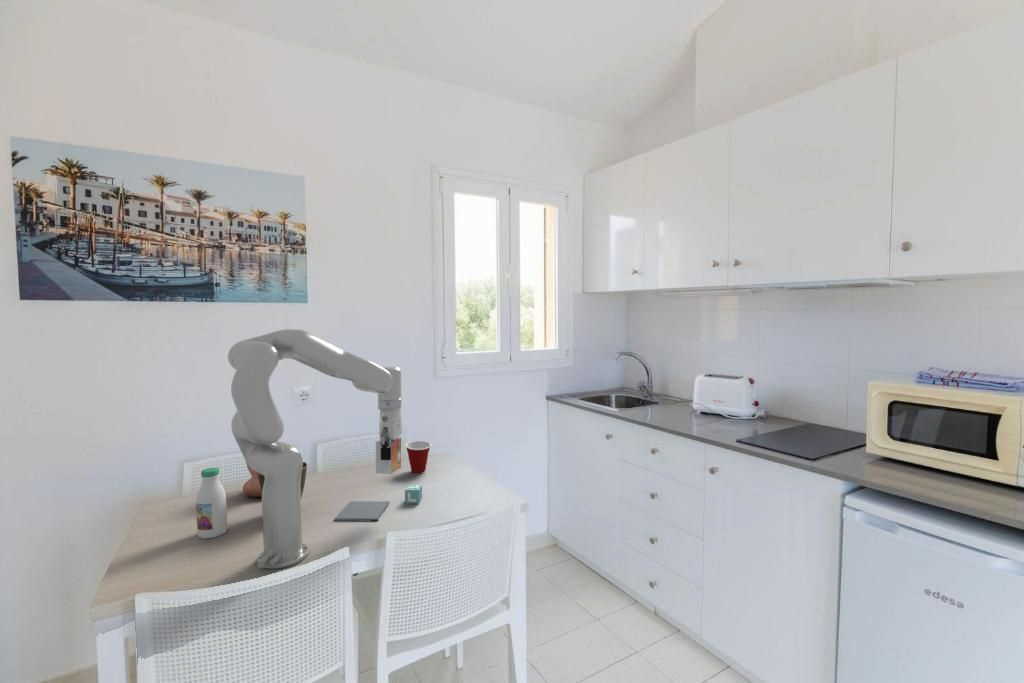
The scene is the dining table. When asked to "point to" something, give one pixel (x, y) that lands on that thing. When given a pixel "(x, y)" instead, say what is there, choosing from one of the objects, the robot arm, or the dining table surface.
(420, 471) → the plastic cup
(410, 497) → the lettered cube
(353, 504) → the slate mat
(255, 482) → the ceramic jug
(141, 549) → the dining table surface
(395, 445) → the small box
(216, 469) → the milk bottle
